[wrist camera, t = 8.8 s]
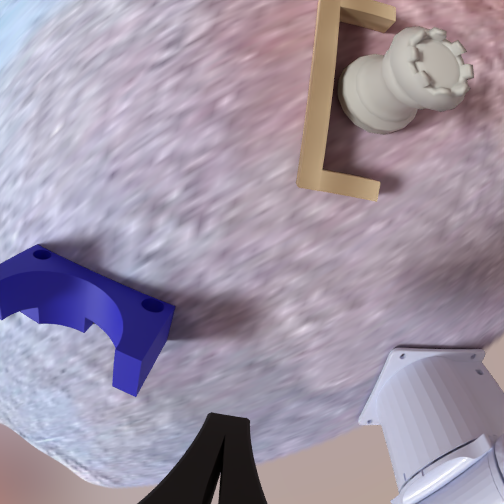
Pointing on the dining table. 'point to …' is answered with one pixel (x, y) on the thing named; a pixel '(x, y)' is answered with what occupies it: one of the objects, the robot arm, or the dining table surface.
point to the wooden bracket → (320, 95)
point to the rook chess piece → (404, 80)
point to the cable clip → (88, 309)
